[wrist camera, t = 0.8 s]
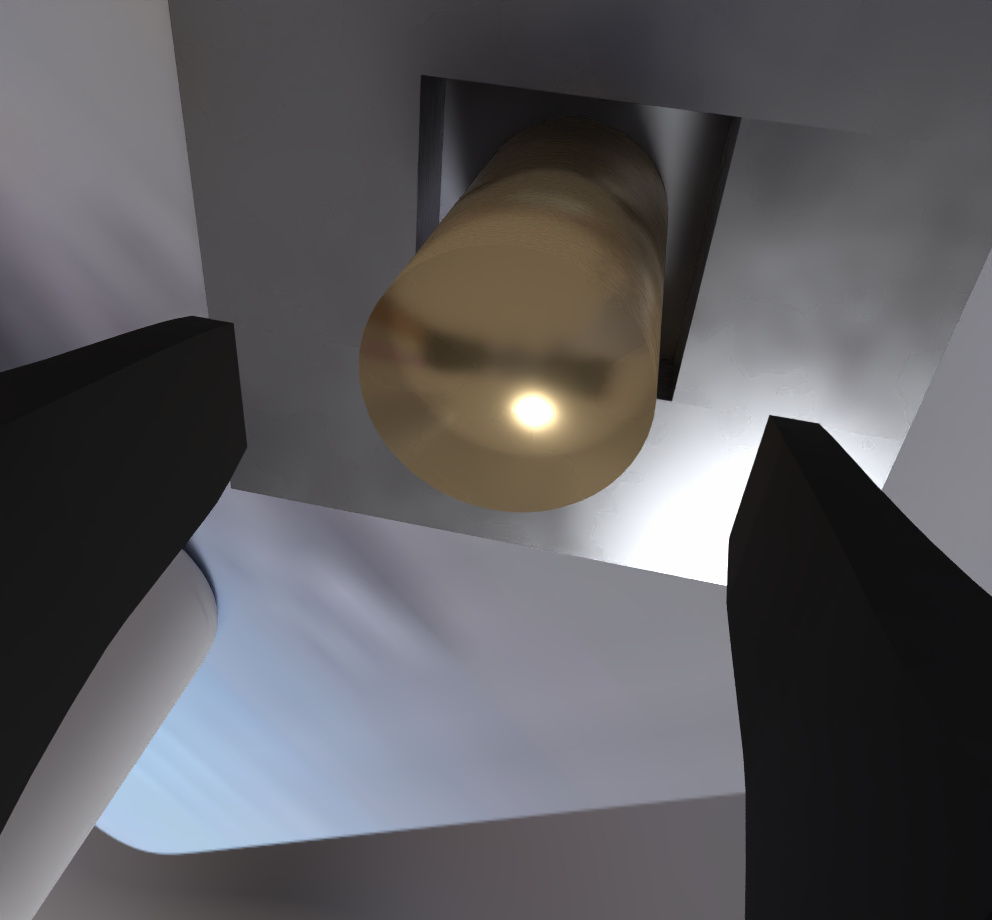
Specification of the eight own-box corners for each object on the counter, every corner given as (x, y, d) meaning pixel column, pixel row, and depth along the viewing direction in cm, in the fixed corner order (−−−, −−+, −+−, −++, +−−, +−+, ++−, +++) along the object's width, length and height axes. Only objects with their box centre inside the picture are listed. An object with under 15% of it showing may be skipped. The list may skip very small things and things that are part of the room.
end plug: (688, 132, 17) (687, 273, 10) (647, 325, 19) (626, 535, 13) (481, 104, 17) (356, 221, 11) (467, 295, 20) (360, 484, 13)
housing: (1137, -202, 13) (1202, -218, 11) (818, 554, 22) (828, 605, 20) (190, -282, 15) (128, -306, 13) (262, 448, 24) (231, 488, 22)
